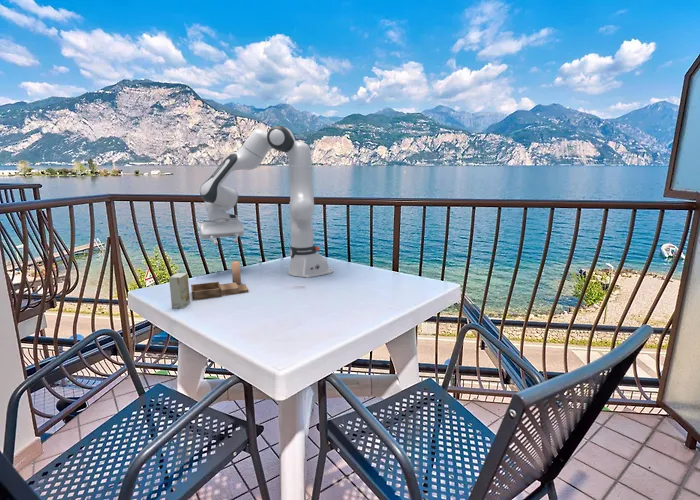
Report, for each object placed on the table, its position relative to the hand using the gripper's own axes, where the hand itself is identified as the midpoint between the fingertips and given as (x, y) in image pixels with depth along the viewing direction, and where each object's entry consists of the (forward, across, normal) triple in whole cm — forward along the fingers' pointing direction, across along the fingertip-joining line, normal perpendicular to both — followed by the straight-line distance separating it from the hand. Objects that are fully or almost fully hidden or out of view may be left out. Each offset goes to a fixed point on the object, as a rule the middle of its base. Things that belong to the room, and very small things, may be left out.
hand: (226, 243), depth 166 cm
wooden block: (+21, 0, +3) cm, 21 cm away
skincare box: (+31, -26, -6) cm, 40 cm away
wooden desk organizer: (+26, -9, -2) cm, 28 cm away
